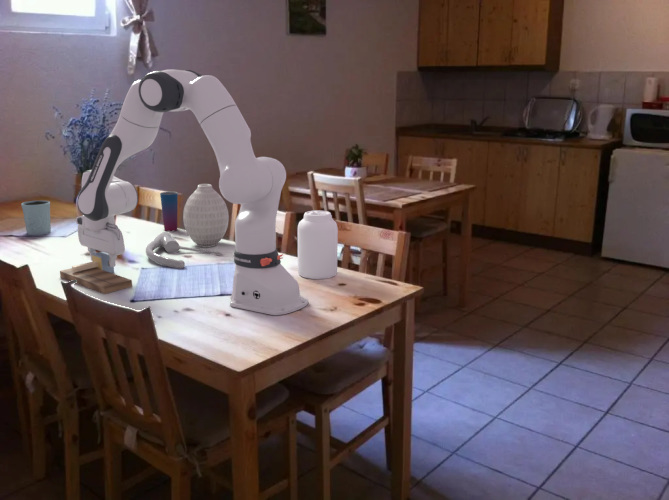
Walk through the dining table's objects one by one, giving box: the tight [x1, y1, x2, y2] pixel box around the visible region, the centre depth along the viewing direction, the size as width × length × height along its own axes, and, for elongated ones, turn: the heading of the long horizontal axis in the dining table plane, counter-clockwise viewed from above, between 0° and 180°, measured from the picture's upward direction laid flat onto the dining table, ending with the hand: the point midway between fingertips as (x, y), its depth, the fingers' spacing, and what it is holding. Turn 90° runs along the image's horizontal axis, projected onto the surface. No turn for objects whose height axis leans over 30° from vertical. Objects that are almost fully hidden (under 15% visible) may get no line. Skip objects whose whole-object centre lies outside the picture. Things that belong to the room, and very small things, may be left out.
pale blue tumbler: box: [20, 200, 52, 236], centre depth 250 cm, size 10×10×12 cm
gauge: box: [71, 251, 115, 274], centre depth 199 cm, size 5×12×6 cm, turn 141°
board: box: [59, 267, 133, 295], centre depth 193 cm, size 24×9×2 cm, turn 51°
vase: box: [182, 183, 229, 248], centre depth 234 cm, size 16×16×22 cm
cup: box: [159, 191, 179, 232], centre depth 257 cm, size 7×7×15 cm
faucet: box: [145, 231, 226, 270], centre depth 221 cm, size 5×28×28 cm
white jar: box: [297, 209, 339, 280], centre depth 201 cm, size 12×12×20 cm
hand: (103, 263), depth 202 cm, fingers open, 8 cm apart
